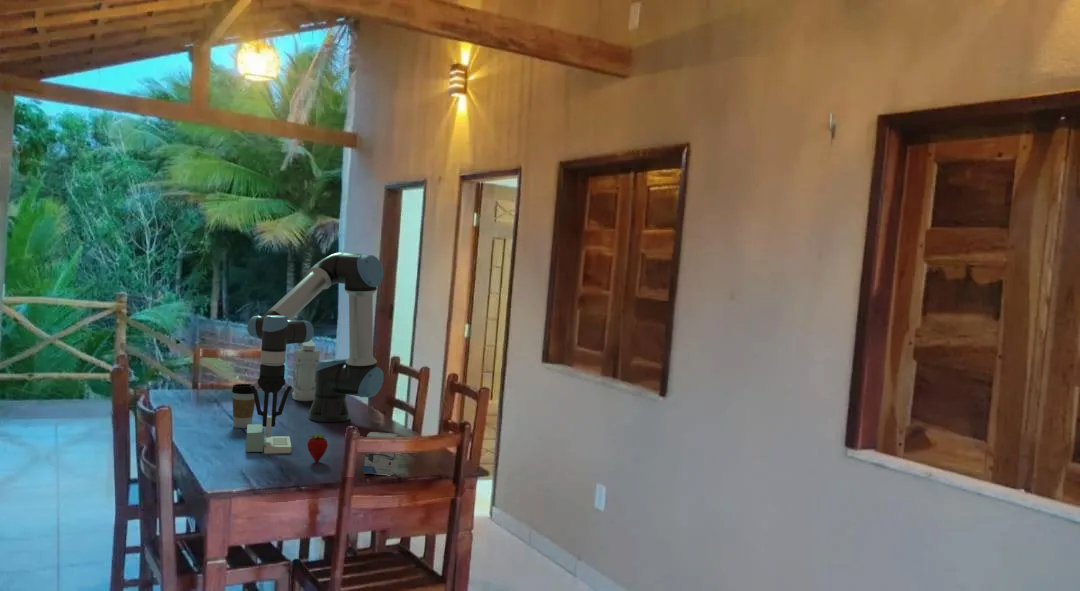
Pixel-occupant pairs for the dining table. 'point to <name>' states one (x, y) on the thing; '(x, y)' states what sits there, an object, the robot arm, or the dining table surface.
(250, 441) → the grey rectangular block
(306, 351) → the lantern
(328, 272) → the robot arm
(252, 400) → the coffee cup
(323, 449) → the strawberry
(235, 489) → the dining table surface
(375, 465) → the ink box
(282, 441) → the cream flat block
